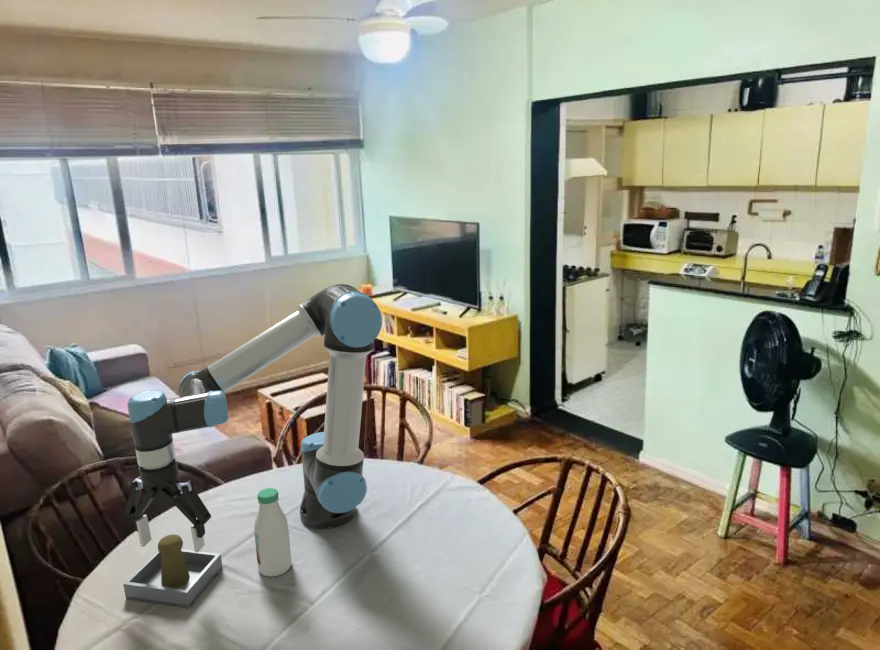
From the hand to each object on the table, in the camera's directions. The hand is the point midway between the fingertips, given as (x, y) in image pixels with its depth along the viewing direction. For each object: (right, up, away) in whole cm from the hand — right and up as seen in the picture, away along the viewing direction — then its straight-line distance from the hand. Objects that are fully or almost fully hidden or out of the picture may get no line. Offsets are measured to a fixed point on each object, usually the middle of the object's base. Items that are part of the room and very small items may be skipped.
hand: (172, 545), depth 138 cm
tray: (0, -9, +2) cm, 10 cm away
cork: (0, -9, +2) cm, 9 cm away
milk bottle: (+21, -8, +7) cm, 24 cm away
